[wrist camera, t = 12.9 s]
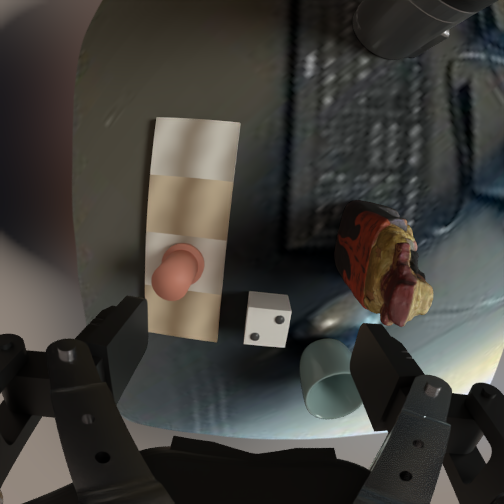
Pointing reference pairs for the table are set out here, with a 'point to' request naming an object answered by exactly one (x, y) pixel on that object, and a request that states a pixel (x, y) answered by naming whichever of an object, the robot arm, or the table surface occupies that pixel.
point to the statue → (381, 262)
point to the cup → (328, 380)
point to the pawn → (177, 271)
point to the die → (267, 319)
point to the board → (190, 218)
